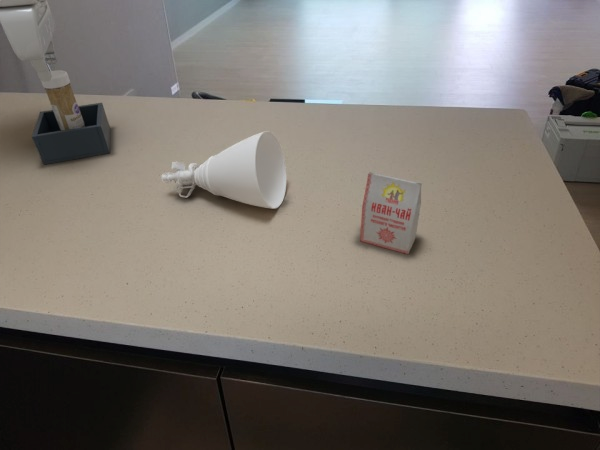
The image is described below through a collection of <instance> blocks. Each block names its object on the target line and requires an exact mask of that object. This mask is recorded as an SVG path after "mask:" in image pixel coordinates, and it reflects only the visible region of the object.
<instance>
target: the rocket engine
mask: <svg viewBox="0 0 600 450" xmlns="http://www.w3.org/2000/svg"><path fill="white" fill-rule="evenodd" d="M171 170H174V171H175V172H172V171H171ZM171 170H170V171H169V172H167V171H164V172H163V174H161V175H160V180H161V182H162V183H164V184H165V183H173V182H174V183H175V184H176V183H177V185H178V186H177V187H176V188H177V190H176V192H177V193H178V196H179V197H180V198H185V199H187V198H189V197H190V196H191V194H192V193H193V191H194V190H195V189H196V186H197V187H198V188H202V190H205V191H208V192H209V193H211V194H212V195H214V196H217V197H219V196H221V197H224V198H226V199H230V200H232V201H236V202H239V203H242V204H246V205H250V206H255V207H259V208H265V209H274V210H276V209H278V208H279V207H280V206H281V205H282V203H283V201H284V199H285V195H286V192H287V191H286V190H287V178H288V177H287V164H286V160H285V154H284V152H283V148H282V145H281V143H280V141H279V139H278V138H277V136H276V135H275V134H274V133H273V132H272V131H269V130H264V131H261V132H258V133H256V134H253V135H251V136H249V137H246V138H244V139H242V140H240V141H238V142H236V143H234V144H233V145H230V146H229V147H227V148H225V149H224V150H222V151H220V152H218V153H216V154H215V155H211V156H209V157H208V158H207V159H206V160H205V161H204V162H203V163H201V164H200V165H198V163H196V162H191V163H189V164H188V169H186V163H184V162H182V161H177V160H176V161H171ZM183 189H189V191H188V193H187V195H183V194H182V193H183Z"/></svg>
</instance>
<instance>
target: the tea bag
mask: <svg viewBox="0 0 600 450" xmlns="http://www.w3.org/2000/svg"><path fill="white" fill-rule="evenodd" d="M364 190H365V191H364V195H363V201H362V208H361V220H360V221H361V222H360V237H359V238H360V239H359V241H360V242H362V243H365V244H369V245H373V246H377V247H379V248H384V249H387V250H391V251H395V252H398V253H401V254H402V253H403V254H405V255H409V253H410V251H411V250H412V247H413V245H414V242H415V240H416V238H417V231H418V224H419V219H420V212H421V206H422V183H421V182H417V181H412V180H409V179H404V178H398V177H393V176H389V175H384V174H381V173H380V174H379V173H375V172H371V171H369V172H368V173H367V180H366V185H365V189H364Z"/></svg>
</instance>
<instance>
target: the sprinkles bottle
mask: <svg viewBox="0 0 600 450" xmlns="http://www.w3.org/2000/svg"><path fill="white" fill-rule="evenodd" d="M50 72H51V75H52V77H51V80H50V81H45V82H42V81H40V82H41V85H42V87H43V89H44V90H45V93H46V95H47V97H48V100H49V103H50V106H51V110H53V112H54V114H55V117H56V119H57V122H58V124H59V127H60V129H61V131H62V130H68V129H75V128H81V127H85V125H84V121H83V118H82V115H81V112H80V110H79V107H78V106H79V105H78V103H77V99H76V97H75V93H74V92H73V88H72V85H71V80H70V76H69V73H68V72H67V71H65V70H62V69H55V70H50Z"/></svg>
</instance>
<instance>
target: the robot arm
mask: <svg viewBox="0 0 600 450" xmlns="http://www.w3.org/2000/svg"><path fill="white" fill-rule="evenodd" d="M0 25H1V28H2V29H3V32H4V34H5V37H6V38H7V40H8V42H9V45H10V47H11V48H12V50H13V52H14V54H15V56H16V57H17V58H18V59H19V60H20V61H22V62H25V61H29V63H30V65H31V66H32V68H33V69H34V71H35V72H36V74H37V77H38V80H39V81H40V82H41V81H42V82H45V81H50V80H51V77H52V75H51V72H50V71H51V69H50V67H48V65H55V64H57V62H58V57H57V54H56V50H55V49H56V48H55V43H54V39H53V36H54V34H55V31H56V22H55V18H54V16H53V13H52V10H51V7H50V5H49V2H48V0H0Z"/></svg>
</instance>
